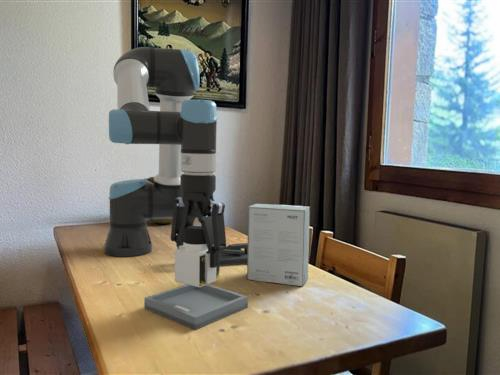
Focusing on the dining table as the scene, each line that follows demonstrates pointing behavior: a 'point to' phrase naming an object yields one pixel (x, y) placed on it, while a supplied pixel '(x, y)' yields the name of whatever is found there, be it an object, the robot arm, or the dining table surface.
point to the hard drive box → (278, 243)
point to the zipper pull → (233, 255)
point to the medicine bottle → (192, 258)
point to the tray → (196, 304)
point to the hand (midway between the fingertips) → (197, 277)
